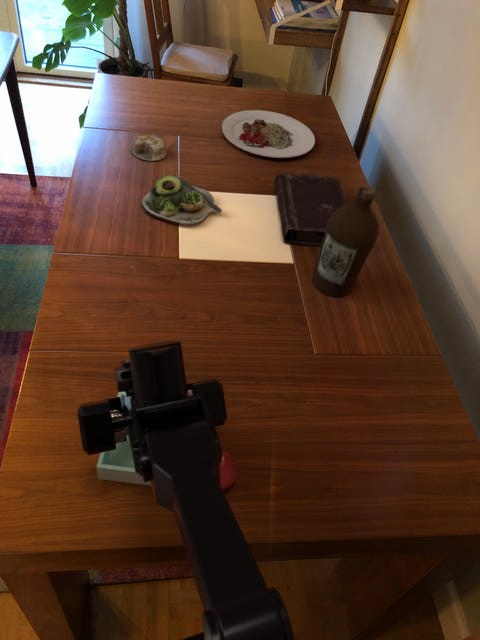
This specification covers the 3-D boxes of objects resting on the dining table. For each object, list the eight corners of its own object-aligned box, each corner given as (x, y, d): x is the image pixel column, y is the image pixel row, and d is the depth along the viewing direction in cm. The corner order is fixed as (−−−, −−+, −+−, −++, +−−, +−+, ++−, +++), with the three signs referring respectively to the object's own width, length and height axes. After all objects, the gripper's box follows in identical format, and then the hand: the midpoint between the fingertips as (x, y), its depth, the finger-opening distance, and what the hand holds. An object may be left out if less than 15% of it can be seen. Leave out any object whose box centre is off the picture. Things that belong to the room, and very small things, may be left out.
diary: (281, 243, 117) (285, 227, 113) (272, 187, 133) (276, 171, 130) (354, 250, 119) (360, 234, 115) (336, 193, 136) (342, 177, 132)
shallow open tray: (179, 491, 73) (180, 477, 69) (99, 481, 72) (96, 467, 68) (191, 416, 82) (193, 400, 78) (120, 406, 81) (118, 390, 77)
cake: (138, 142, 141) (138, 124, 137) (170, 150, 140) (172, 133, 137) (126, 156, 133) (126, 137, 130) (160, 164, 133) (161, 146, 129)
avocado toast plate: (232, 201, 126) (234, 185, 123) (205, 237, 114) (207, 222, 111) (166, 178, 129) (166, 163, 126) (133, 212, 117) (133, 196, 114)
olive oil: (323, 261, 114) (355, 167, 96) (362, 282, 111) (403, 190, 93) (300, 283, 108) (330, 187, 90) (341, 306, 105) (381, 212, 86)
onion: (194, 466, 76) (197, 442, 70) (229, 460, 77) (235, 436, 71) (200, 502, 72) (205, 480, 66) (237, 495, 73) (244, 472, 68)
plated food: (323, 132, 160) (326, 123, 158) (298, 173, 141) (301, 162, 138) (241, 107, 165) (242, 97, 162) (206, 143, 145) (207, 132, 143)
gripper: (230, 348, 58) (200, 338, 72) (68, 376, 52) (71, 359, 67) (242, 437, 58) (210, 409, 73) (84, 474, 53) (84, 436, 68)
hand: (146, 402), depth 70 cm, fingers closed on water bottle, 6 cm apart
